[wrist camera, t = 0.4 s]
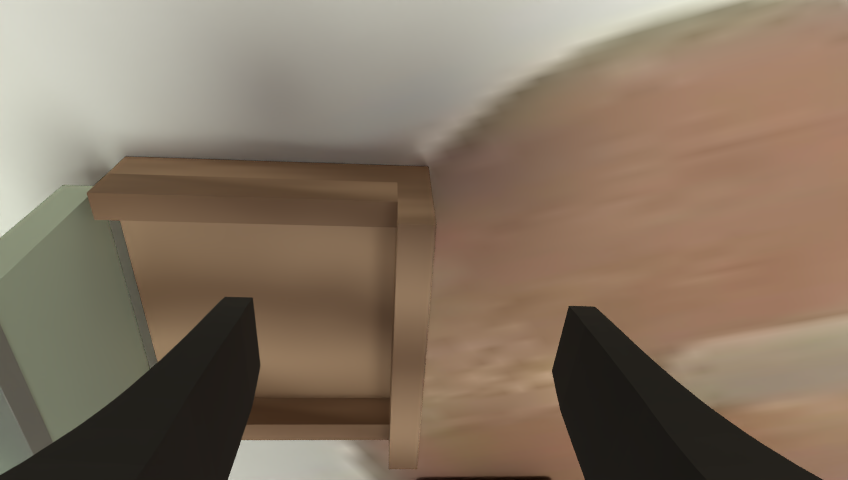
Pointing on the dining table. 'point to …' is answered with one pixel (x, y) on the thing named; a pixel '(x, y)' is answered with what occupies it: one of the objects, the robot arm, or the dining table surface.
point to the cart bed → (292, 282)
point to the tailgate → (61, 324)
